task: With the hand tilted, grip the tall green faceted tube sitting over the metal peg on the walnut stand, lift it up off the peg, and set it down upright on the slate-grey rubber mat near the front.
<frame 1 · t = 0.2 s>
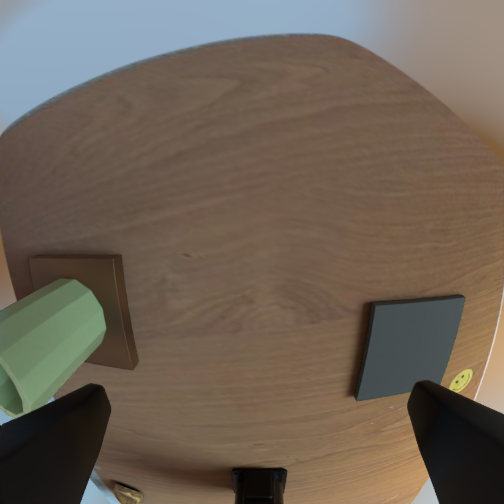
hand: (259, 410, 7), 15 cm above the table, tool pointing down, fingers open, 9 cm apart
stand: (83, 308, 22), on the table
sculpture: (133, 491, 30), on the table
green faceted tube: (74, 314, 21), point 1 cm above the table, touching stand
mat: (410, 348, 22), on the table
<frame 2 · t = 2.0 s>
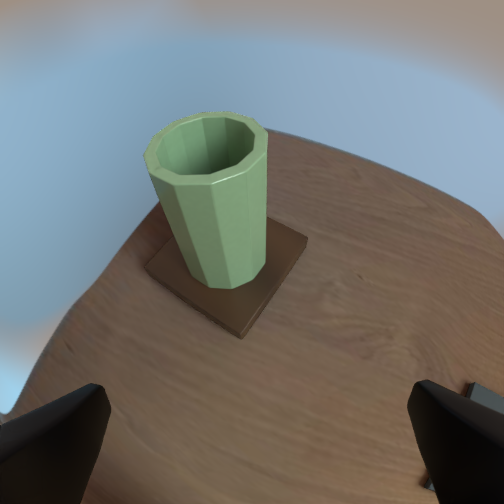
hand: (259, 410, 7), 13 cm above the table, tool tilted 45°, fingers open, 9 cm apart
stand: (227, 261, 25), on the table
green faceted tube: (225, 252, 24), point 1 cm above the table, touching stand
mat: (482, 447, 14), on the table
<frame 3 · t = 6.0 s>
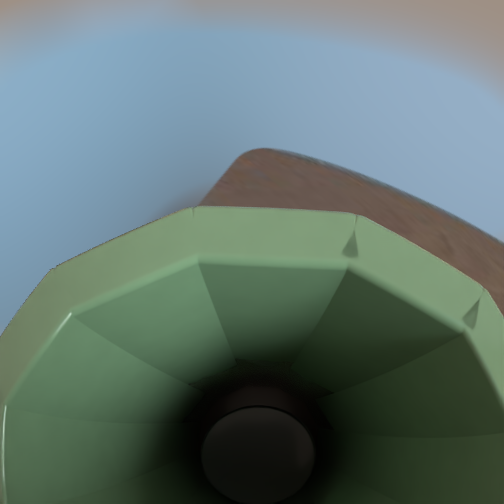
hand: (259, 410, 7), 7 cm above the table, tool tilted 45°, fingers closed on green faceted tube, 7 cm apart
stand: (258, 438, 12), on the table
green faceted tube: (258, 441, 10), point 2 cm above the table, touching gripper, stand
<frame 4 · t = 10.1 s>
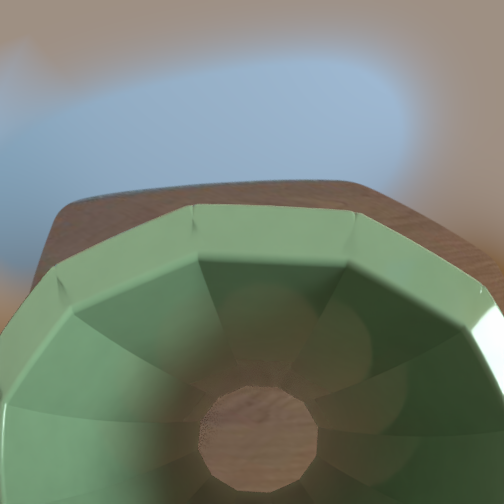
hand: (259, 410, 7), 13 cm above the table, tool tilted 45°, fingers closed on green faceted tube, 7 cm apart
green faceted tube: (258, 441, 10), point 8 cm above the table, touching gripper
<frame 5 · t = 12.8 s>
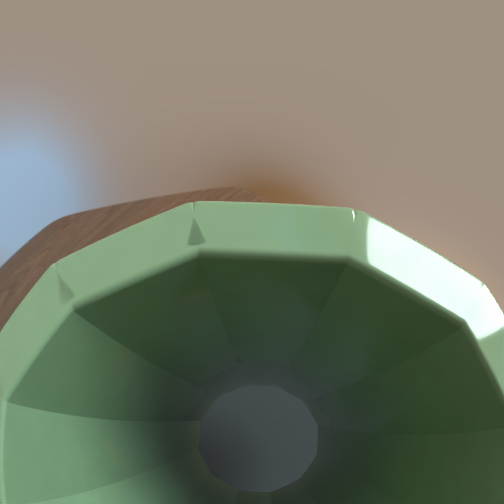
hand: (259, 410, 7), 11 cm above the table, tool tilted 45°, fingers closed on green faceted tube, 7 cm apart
green faceted tube: (258, 440, 10), point 6 cm above the table, touching gripper
mat: (259, 430, 15), on the table
when the fingers open (6 cm above the table, at t = 14.8 s): green faceted tube stays where it is, resting on mat.
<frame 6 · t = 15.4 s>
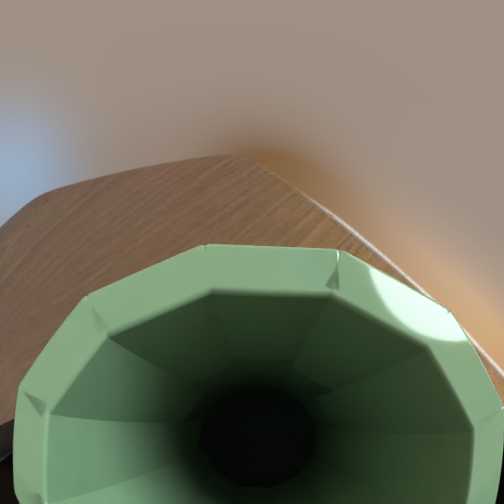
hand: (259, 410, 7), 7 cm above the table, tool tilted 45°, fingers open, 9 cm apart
green faceted tube: (258, 438, 11), point 1 cm above the table, touching mat
mat: (259, 437, 12), on the table
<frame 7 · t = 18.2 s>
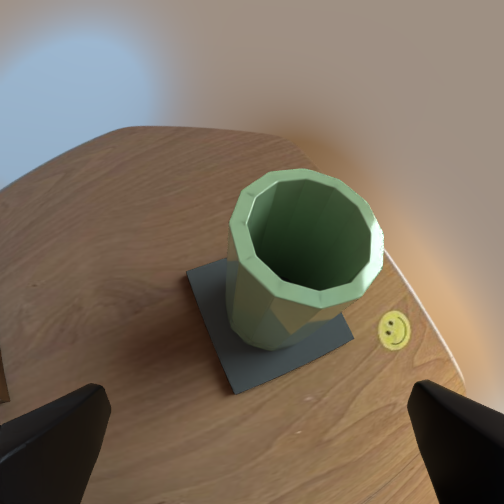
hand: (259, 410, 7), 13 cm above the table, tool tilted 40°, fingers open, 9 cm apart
green faceted tube: (270, 306, 21), point 1 cm above the table, touching mat
mat: (269, 309, 22), on the table
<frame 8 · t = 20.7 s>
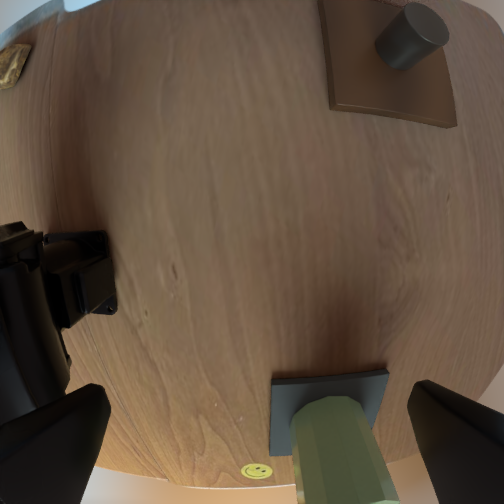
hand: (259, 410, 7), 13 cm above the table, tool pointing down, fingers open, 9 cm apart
stand: (387, 58, 16), on the table
sculpture: (12, 73, 16), on the table
green faceted tube: (326, 422, 21), point 1 cm above the table, touching mat
mat: (324, 416, 22), on the table
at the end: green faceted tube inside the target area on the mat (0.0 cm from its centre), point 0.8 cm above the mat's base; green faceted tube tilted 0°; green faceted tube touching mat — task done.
